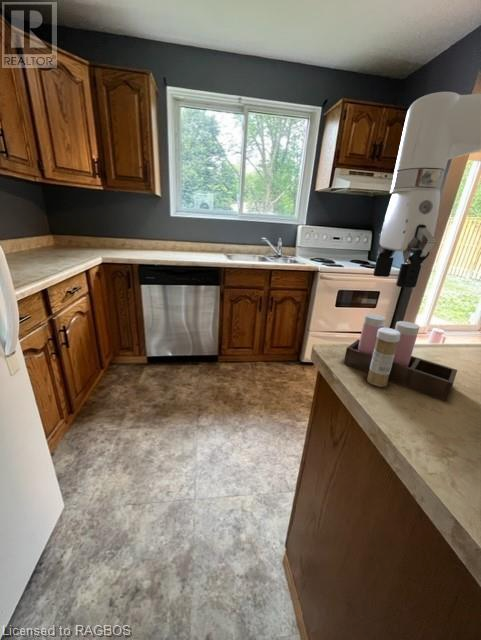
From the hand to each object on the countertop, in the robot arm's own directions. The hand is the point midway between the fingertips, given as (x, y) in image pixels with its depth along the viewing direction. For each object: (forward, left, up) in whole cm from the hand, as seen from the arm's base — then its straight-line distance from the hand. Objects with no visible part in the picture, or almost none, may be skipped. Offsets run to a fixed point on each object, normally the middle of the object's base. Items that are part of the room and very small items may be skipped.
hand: (392, 281), depth 53 cm
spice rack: (-3, -13, -25) cm, 29 cm away
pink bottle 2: (-3, -13, -25) cm, 28 cm away
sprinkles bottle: (-1, -5, -25) cm, 26 cm away
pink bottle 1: (+5, -13, -25) cm, 28 cm away
